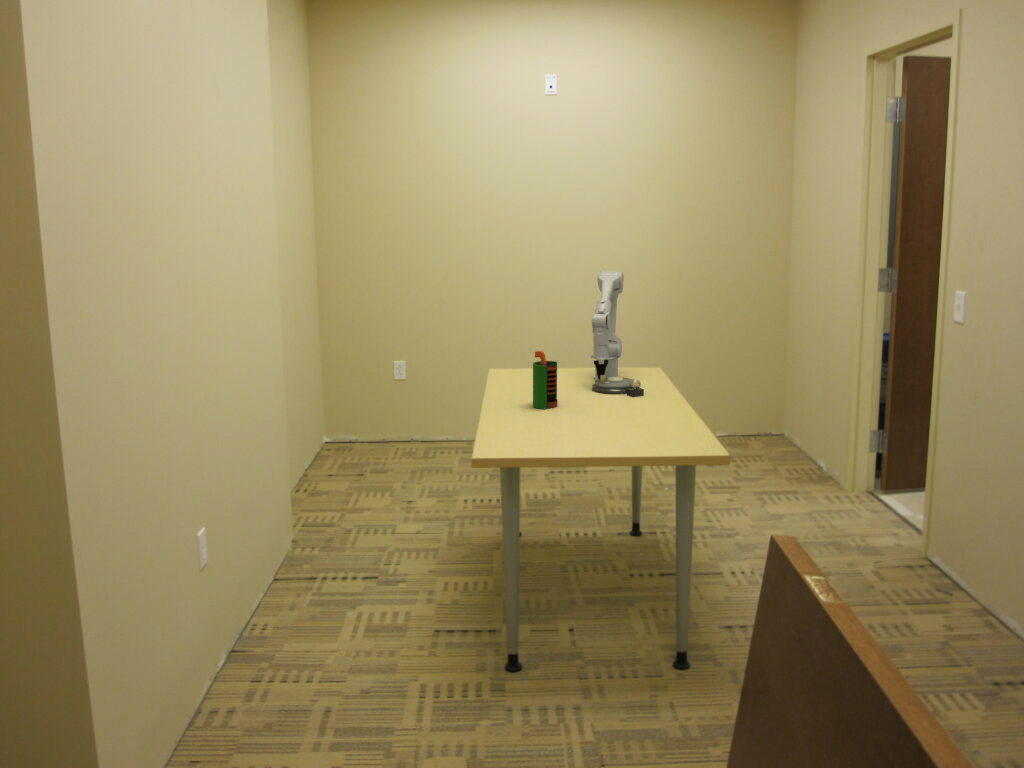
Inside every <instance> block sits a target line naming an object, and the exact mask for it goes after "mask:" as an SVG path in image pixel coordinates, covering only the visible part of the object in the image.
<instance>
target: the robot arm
mask: <svg viewBox="0 0 1024 768" xmlns="http://www.w3.org/2000/svg"><path fill="white" fill-rule="evenodd" d="M597 285H598V288H599V291H600V298H599V299H598V300H597V301H596V305H595V306H596V307H595V311H594V314H592V316H591V327H592V328H591V329H592V333H593V339H592V340H593V341H592V342H593V344H592V345H593V355H590V359H594V360H593V364H594V369H595V371H594V373H595V374H594V375H595V376H594V377H593V380H597V379H600V375H605V378H606V377H619V375H618V372H619V370H618V369H619V368H618V366H619V358H621V357H622V352H623V351H622V348H623V347H622V340H621V339H622V338H620V337H619V336H618V335H617V334H616V323H617V322H616V321H617V310H618V309H617V307H618V296H619V295H620V294H622V293H623V290H624V272H623V271H621V270H619V271H602V270H599V271H598V273H597Z"/></svg>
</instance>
